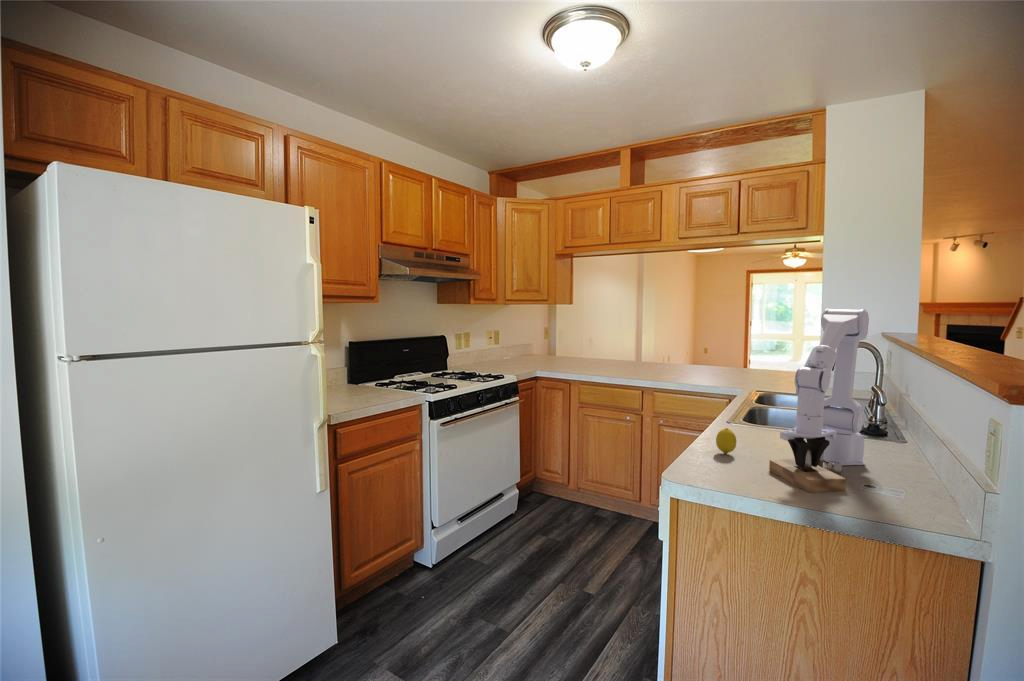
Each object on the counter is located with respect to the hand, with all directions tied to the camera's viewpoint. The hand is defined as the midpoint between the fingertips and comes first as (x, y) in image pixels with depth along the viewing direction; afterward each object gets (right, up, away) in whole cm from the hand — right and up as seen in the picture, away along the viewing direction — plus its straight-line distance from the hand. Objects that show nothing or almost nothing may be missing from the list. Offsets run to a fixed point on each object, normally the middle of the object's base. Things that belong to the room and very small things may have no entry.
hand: (806, 465), depth 119 cm
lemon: (-12, -2, +20) cm, 23 cm away
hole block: (0, -4, 0) cm, 4 cm away
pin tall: (0, -3, +1) cm, 3 cm away
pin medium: (+9, -3, +10) cm, 13 cm away
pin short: (+10, -4, +4) cm, 11 cm away
